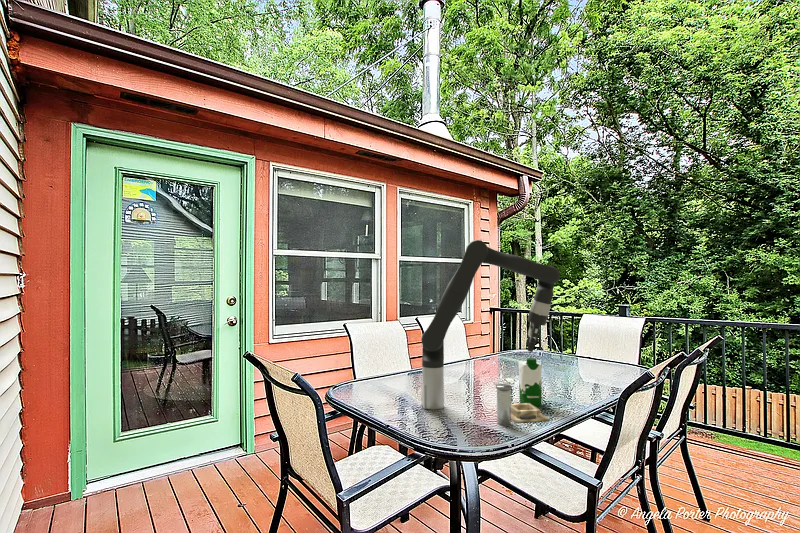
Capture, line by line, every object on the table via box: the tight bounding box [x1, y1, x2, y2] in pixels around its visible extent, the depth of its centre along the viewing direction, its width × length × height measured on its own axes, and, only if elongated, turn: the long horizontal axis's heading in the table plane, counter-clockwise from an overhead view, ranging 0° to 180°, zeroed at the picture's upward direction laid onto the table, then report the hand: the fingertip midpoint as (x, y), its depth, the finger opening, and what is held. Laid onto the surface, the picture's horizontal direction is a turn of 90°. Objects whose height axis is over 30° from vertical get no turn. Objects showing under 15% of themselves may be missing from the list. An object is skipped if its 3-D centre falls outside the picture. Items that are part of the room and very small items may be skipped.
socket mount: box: [511, 403, 550, 424], centre depth 163 cm, size 14×14×3 cm
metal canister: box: [495, 383, 512, 427], centre depth 155 cm, size 6×6×14 cm
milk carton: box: [518, 357, 543, 408], centre depth 178 cm, size 9×9×20 cm
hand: (529, 348), depth 175 cm, fingers open, 8 cm apart
